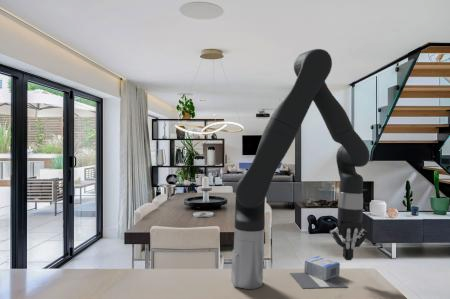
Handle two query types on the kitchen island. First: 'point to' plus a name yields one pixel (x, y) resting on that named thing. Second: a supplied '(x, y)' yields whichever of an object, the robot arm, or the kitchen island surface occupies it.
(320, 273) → the medicine box
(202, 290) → the kitchen island surface
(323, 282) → the mat
